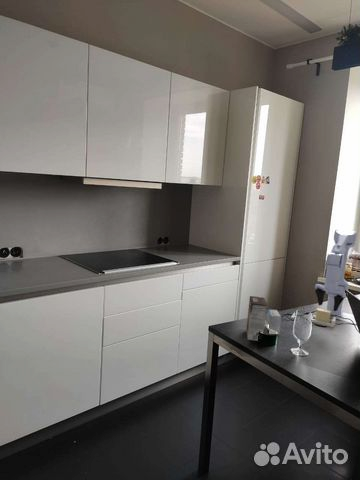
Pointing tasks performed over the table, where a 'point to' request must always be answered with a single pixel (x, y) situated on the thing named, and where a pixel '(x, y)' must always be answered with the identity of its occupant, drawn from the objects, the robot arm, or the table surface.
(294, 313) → the mat
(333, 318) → the dispenser
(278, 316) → the medicine box
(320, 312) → the tan rectangular block
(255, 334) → the coffee box
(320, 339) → the table surface
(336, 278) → the robot arm
